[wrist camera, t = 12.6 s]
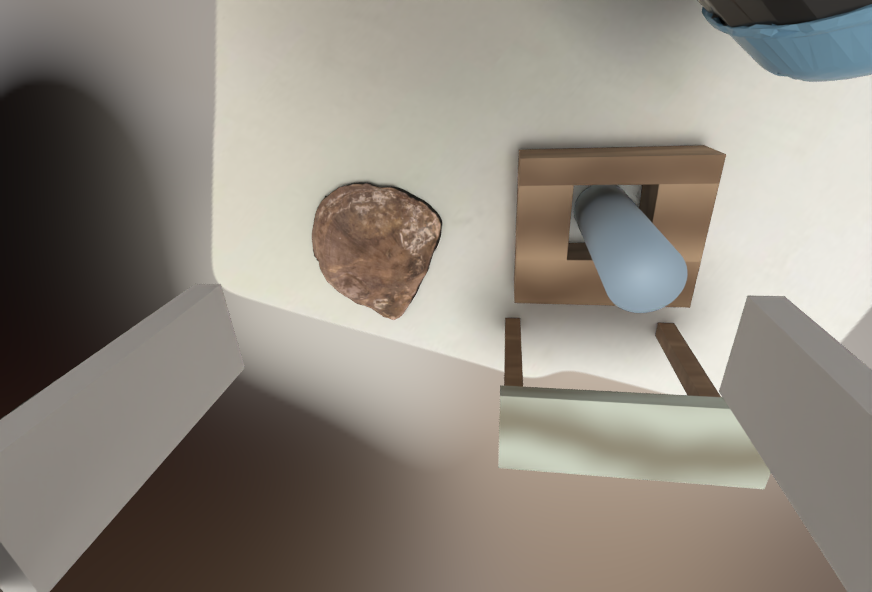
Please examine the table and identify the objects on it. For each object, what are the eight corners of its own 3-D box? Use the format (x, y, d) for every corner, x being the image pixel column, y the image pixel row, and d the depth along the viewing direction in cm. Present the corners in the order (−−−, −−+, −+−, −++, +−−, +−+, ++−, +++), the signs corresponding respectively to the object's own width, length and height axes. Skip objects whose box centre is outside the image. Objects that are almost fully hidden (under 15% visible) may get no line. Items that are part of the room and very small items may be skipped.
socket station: (506, 149, 37) (504, 208, 22) (718, 145, 34) (878, 206, 19) (501, 332, 45) (498, 467, 30) (673, 339, 42) (764, 489, 27)
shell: (298, 270, 45) (282, 285, 42) (340, 155, 39) (325, 162, 36) (400, 321, 46) (392, 340, 43) (456, 215, 40) (452, 228, 37)
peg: (571, 233, 39) (600, 311, 27) (576, 183, 37) (609, 241, 25) (624, 234, 39) (678, 314, 26) (632, 182, 37) (695, 242, 24)
